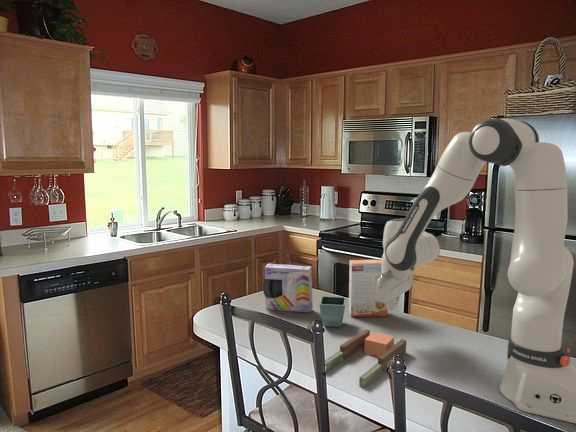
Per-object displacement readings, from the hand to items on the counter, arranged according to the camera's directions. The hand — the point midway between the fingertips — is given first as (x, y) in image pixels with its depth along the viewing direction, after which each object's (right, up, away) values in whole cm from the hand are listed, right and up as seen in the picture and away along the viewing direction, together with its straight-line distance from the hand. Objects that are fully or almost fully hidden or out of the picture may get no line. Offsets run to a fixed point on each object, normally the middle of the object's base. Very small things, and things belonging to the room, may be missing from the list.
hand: (393, 308), depth 146 cm
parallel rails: (-12, -13, -14) cm, 22 cm away
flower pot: (-18, -9, +15) cm, 25 cm away
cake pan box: (-34, -7, +30) cm, 46 cm away
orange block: (-6, -12, -7) cm, 15 cm away
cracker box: (-4, -7, +25) cm, 26 cm away
